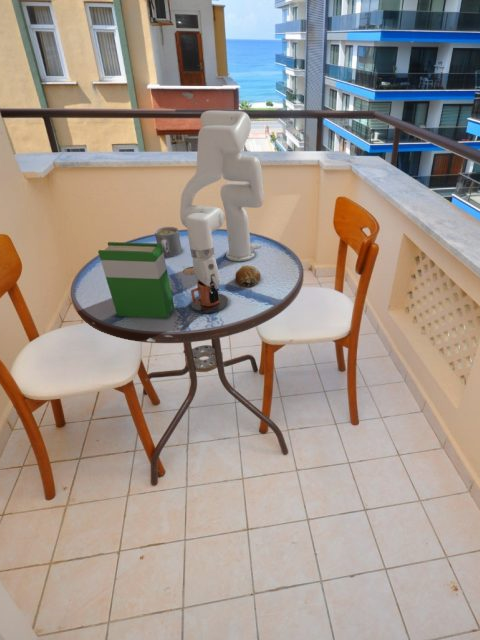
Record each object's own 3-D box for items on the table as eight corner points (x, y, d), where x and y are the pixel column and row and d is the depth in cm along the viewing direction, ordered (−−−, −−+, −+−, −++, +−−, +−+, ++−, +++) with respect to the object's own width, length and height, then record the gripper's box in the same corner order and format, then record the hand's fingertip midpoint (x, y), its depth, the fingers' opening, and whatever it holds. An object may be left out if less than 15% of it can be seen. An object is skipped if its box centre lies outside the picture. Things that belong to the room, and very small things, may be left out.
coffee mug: (165, 246, 191) (161, 226, 186) (185, 248, 190) (181, 227, 184) (151, 258, 181) (146, 237, 175) (172, 260, 179) (168, 239, 173)
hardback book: (117, 315, 143) (97, 251, 129) (126, 304, 149) (108, 242, 135) (167, 318, 142) (153, 253, 128) (174, 306, 148) (161, 243, 134)
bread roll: (263, 287, 167) (265, 267, 166) (253, 288, 157) (255, 267, 156) (241, 283, 170) (243, 264, 168) (229, 284, 160) (232, 263, 159)
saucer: (220, 291, 157) (220, 289, 157) (233, 307, 148) (233, 305, 147) (187, 300, 152) (186, 298, 151) (198, 317, 142) (198, 315, 142)
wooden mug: (213, 294, 153) (210, 275, 148) (222, 302, 149) (220, 282, 144) (189, 303, 148) (185, 283, 143) (198, 311, 144) (195, 291, 139)
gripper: (225, 256, 135) (231, 303, 145) (199, 240, 145) (206, 285, 156) (205, 263, 131) (212, 310, 141) (180, 246, 141) (188, 291, 152)
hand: (209, 297), depth 148 cm, fingers closed on wooden mug, 6 cm apart
